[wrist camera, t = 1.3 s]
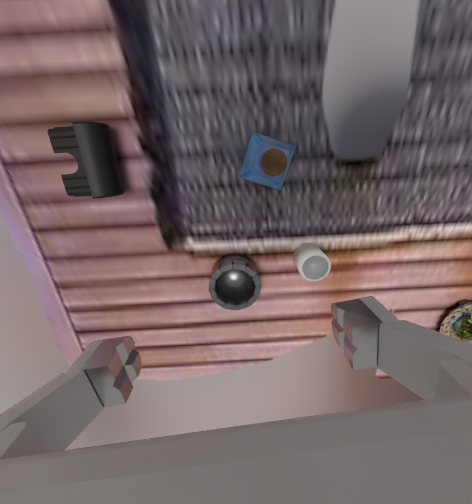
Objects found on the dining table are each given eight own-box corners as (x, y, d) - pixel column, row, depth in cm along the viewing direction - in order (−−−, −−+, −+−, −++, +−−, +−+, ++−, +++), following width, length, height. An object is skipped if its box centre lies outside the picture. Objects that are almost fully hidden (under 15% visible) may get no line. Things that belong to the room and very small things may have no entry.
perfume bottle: (239, 175, 40) (241, 181, 29) (250, 136, 38) (257, 126, 26) (274, 185, 40) (289, 195, 29) (286, 148, 38) (308, 143, 27)
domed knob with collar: (232, 244, 44) (231, 254, 40) (267, 272, 46) (271, 285, 42) (202, 277, 47) (198, 290, 42) (237, 303, 49) (237, 318, 44)
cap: (307, 237, 44) (316, 247, 39) (326, 254, 45) (338, 266, 40) (286, 257, 45) (293, 269, 40) (306, 274, 47) (314, 287, 42)
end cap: (132, 191, 41) (113, 197, 34) (91, 194, 41) (65, 200, 35) (118, 126, 37) (94, 120, 31) (74, 129, 37) (41, 123, 31)
